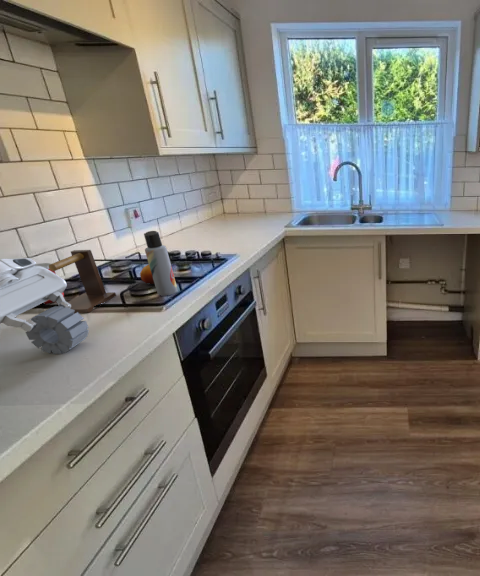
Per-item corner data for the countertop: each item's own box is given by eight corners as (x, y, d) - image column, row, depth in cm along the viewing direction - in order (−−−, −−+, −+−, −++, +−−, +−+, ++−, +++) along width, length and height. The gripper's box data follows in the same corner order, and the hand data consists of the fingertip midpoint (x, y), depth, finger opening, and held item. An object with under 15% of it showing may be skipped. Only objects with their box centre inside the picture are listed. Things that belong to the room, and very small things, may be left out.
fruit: (162, 283, 120) (145, 263, 118) (147, 293, 123) (131, 274, 121) (178, 274, 127) (163, 255, 125) (164, 284, 130) (149, 266, 128)
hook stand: (53, 313, 104) (31, 262, 98) (85, 296, 115) (67, 249, 109) (88, 312, 104) (68, 262, 98) (116, 295, 115) (100, 249, 109)
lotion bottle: (179, 288, 119) (163, 228, 112) (176, 294, 115) (159, 233, 107) (159, 291, 118) (142, 230, 110) (156, 297, 113) (137, 235, 105)
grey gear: (36, 354, 84) (17, 316, 80) (53, 343, 89) (37, 306, 85) (78, 353, 84) (62, 315, 80) (94, 342, 89) (79, 305, 85)
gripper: (-59, 288, 68) (14, 332, 72) (36, 255, 87) (90, 291, 91) (-70, 310, 70) (2, 351, 74) (25, 273, 89) (79, 307, 93)
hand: (51, 318), depth 83 cm, fingers open, 8 cm apart
